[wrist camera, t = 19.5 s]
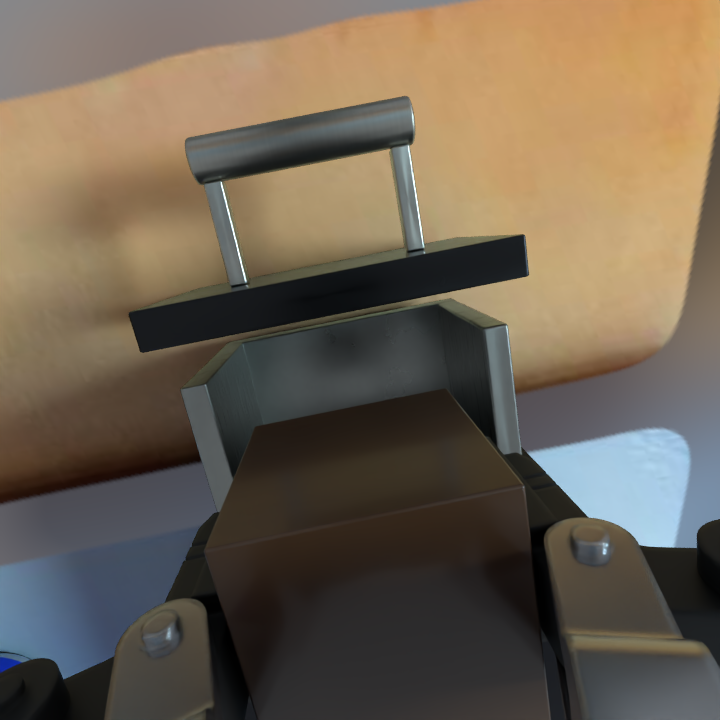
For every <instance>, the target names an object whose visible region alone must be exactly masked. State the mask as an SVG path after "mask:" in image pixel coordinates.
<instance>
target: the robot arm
mask: <svg viewBox="0 0 720 720" xmlns="http://www.w3.org/2000/svg"><path fill="white" fill-rule="evenodd" d="M486 438H487V440H488V441H489V442H490V443H491V444H492V446H493V447H494V448H495V449H496V451H497V452H498V453H499V454H500V456H501V457H502V458H503V459H504V461H505V462H506V463H507V464H508V466H509V467H510V468H511V469H512V471H513V472H514V473H515V474H516V476H517V477H518V478H519V479H520V480H521V482H522V483H523V484H524V486H525V493H526V502H527V510H528V519H529V528H530V537H531V546H532V555H533V564H534V573H535V582H536V591H537V600H538V609H539V618H540V627H541V636H542V642H546V641H549V643H550V645H551V647H552V649H553V650H554V652H555V655H556V665H557V675H558V681H559V687H560V693H561V699H562V705H563V711H564V717H565V720H720V519H719V520H714V521H711V522H708V523H706V524H705V525H703V526H702V527H701V528H700V529H699V530H698V533H697V548H666V547H647V546H641V545H639V544H638V542H637V541H636V539H635V538H634V537H633V536H632V535H631V534H630V533H629V532H628V531H626V530H625V529H623V528H622V527H620V526H618V525H616V524H614V523H611V522H608V521H605V520H601V519H596V518H588V517H587V516H586V514H585V513H584V512H583V511H582V510H581V509H580V508H579V507H578V506H577V505H576V504H575V503H574V502H573V501H572V500H571V499H570V498H569V496H568V495H567V494H566V493H565V492H564V491H563V490H562V489H561V488H560V487H559V486H558V485H557V486H556V483H555V482H554V481H553V480H552V479H551V477H550V476H549V475H546V472H545V471H544V470H543V469H542V468H541V467H540V466H539V465H538V464H537V463H536V462H535V461H534V460H532V459H530V458H528V457H526V456H523V455H521V454H519V453H517V452H515V453H510V454H505V455H504V454H503V453H502V452H501V451H500V449H499V448H498V447H497V446H496V445H495V443H494V442H493V441H492V440H491V438H490V437H486ZM219 513H220V512H217V513H214V514H213V515H212V516H211V517H210V518H209V519H208V520H207V521H206V522H205V523H204V524H203V525H202V526H201V527H200V528H199V529H198V531H197V534H196V536H195V538H194V540H193V542H192V547H190V549H189V551H188V553H187V555H186V557H185V558H186V561H184V562H183V564H182V566H181V568H180V570H179V573H178V575H177V577H176V579H175V581H174V583H173V586H172V588H171V590H170V592H169V594H168V597H167V599H166V601H165V603H163V604H161V605H159V606H157V607H155V608H153V609H151V610H149V611H148V612H146V613H145V614H143V615H142V616H141V617H139V618H138V619H137V620H136V621H135V622H134V623H133V624H132V625H131V626H129V628H128V629H127V630H126V631H125V632H124V634H123V635H122V637H121V638H120V640H119V642H118V644H117V647H116V650H115V656H114V657H112V658H110V659H108V660H106V661H104V662H102V663H99V664H97V665H95V666H93V667H91V668H88V669H86V670H84V671H82V672H79V673H77V674H75V675H73V676H71V677H68V678H66V679H64V680H63V677H62V675H61V673H60V670H59V668H58V666H57V664H56V663H55V662H54V661H52V660H50V659H45V658H39V659H33V660H29V661H25V662H22V663H20V664H17V665H15V666H13V667H11V668H9V669H7V670H5V671H3V672H1V673H0V720H245V715H246V710H247V704H248V703H250V702H251V699H250V696H249V693H248V689H247V686H246V683H245V680H244V677H243V674H242V671H241V667H240V664H239V661H238V658H237V655H236V652H235V649H234V645H233V642H232V639H231V636H230V633H229V630H228V626H227V623H226V620H225V617H224V614H223V611H222V608H221V604H220V601H219V598H218V595H217V592H216V589H215V586H214V582H213V579H212V576H211V573H210V570H209V567H208V563H207V560H206V557H205V554H204V549H205V546H206V544H207V542H208V539H209V537H210V534H211V532H212V530H213V527H214V525H215V522H216V520H217V517H218V515H219Z"/></svg>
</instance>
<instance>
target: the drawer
mask: <svg viewBox="0 0 720 720" xmlns="http://www.w3.org/2000/svg"><path fill="white" fill-rule="evenodd" d="M414 139H415V119H414V112H413V107H412V104H411V101H410V99H409V97H407V96H402V97H397V98H392V99H387V100H382V101H376V102H371V103H366V104H361V105H356V106H350V107H345V108H340V109H335V110H330V111H324V112H319V113H314V114H309V115H304V116H298V117H293V118H288V119H283V120H278V121H272V122H267V123H262V124H257V125H252V126H246V127H241V128H236V129H231V130H226V131H220V132H215V133H210V134H205V135H200V136H194V137H189V138H187V139H186V140H185V151H186V156H187V160H188V163H189V167H190V169H191V172H192V174H193V176H194V178H195V180H196V181H197V183H198V184H199V185H204V188H205V192H206V196H207V200H208V204H209V207H210V211H211V215H212V219H213V223H214V227H215V231H216V234H217V238H218V242H219V246H220V250H221V254H222V258H223V261H224V265H225V269H226V273H227V277H228V281H229V282H228V283H223V284H218V285H213V286H208V287H202V288H198V289H195V290H192V291H190V292H187V293H184V294H181V295H178V296H175V297H172V298H169V299H166V300H163V301H160V302H157V303H154V304H151V305H149V306H146V307H143V308H140V309H137V310H134V311H131V312H129V318H130V321H131V324H132V327H133V330H134V334H135V337H136V340H137V343H138V346H139V349H140V352H142V353H144V352H149V351H154V350H159V349H164V348H169V347H174V346H179V345H184V344H189V343H194V342H199V341H204V340H209V339H214V338H220V337H225V336H230V335H235V334H240V333H245V332H250V331H255V330H260V329H265V328H270V327H275V326H280V325H285V324H290V323H295V322H300V321H305V320H310V319H315V318H320V317H325V316H330V315H335V314H340V313H345V312H350V311H356V310H361V309H366V308H371V307H376V306H381V305H386V304H391V303H396V302H401V301H406V300H411V299H416V298H421V297H426V296H431V295H436V294H441V293H446V292H451V291H456V290H461V289H466V288H471V287H476V286H481V285H486V284H492V283H497V282H502V281H507V280H512V279H517V278H522V277H527V276H528V275H529V271H528V260H527V250H526V239H525V235H523V234H520V235H499V236H478V237H457V238H451V239H446V240H441V241H436V242H431V243H426V244H424V239H423V232H422V226H421V219H420V212H419V206H418V199H417V192H416V186H415V179H414V172H413V166H412V159H411V152H410V146H409V145H411V144H413V143H414ZM387 149H390V151H389V154H390V160H391V166H392V173H393V179H394V185H395V191H396V198H397V204H398V210H399V216H400V222H401V229H402V235H403V241H404V247H405V248H400V249H395V250H390V251H385V252H380V253H375V254H370V255H365V256H360V257H355V258H350V259H345V260H340V261H334V262H329V263H324V264H319V265H314V266H309V267H304V268H299V269H294V270H289V271H284V272H279V273H274V274H268V275H263V276H258V277H253V278H249V276H248V272H247V268H246V263H245V259H244V255H243V251H242V247H241V243H240V239H239V235H238V231H237V227H236V223H235V219H234V215H233V211H232V207H231V203H230V199H229V195H228V191H227V187H226V184H225V182H223V181H227V180H232V179H238V178H243V177H248V176H253V175H258V174H263V173H269V172H274V171H279V170H284V169H289V168H294V167H300V166H305V165H310V164H315V163H320V162H325V161H330V160H336V159H341V158H346V157H351V156H356V155H361V154H367V153H372V152H377V151H382V150H387ZM444 388H446V389H447V390H448V391H449V392H450V394H451V395H452V396H453V397H454V399H455V400H456V401H457V402H458V404H459V405H460V406H461V407H462V408H463V410H464V411H465V412H466V413H467V415H468V416H469V417H470V418H471V420H472V421H473V422H474V423H475V425H476V426H477V427H478V428H479V430H480V431H481V432H482V433H483V435H484V436H485V437H490V438H491V440H492V441H493V442H494V443H495V445H496V446H497V447H498V448H499V449H500V451H501V452H502V453H503V454H504V455H505V454H510V453H515V452H517V453H519V454H521V455H522V450H521V441H520V432H519V423H518V414H517V405H516V396H515V387H514V378H513V368H512V359H511V350H510V341H509V332H508V325H507V324H506V323H503V322H501V321H499V320H497V319H495V318H492V317H490V316H488V315H486V314H484V313H481V312H479V311H477V310H475V309H473V308H470V307H468V306H466V305H464V304H462V303H460V302H457V301H455V300H454V299H451V298H449V299H444V300H439V301H434V302H429V303H424V304H419V305H414V306H409V307H404V308H399V309H394V310H389V311H384V312H379V313H374V314H369V315H364V316H359V317H353V318H348V319H343V320H338V321H333V322H328V323H323V324H318V325H313V326H308V327H303V328H298V329H293V330H288V331H283V332H278V333H273V334H268V335H263V336H258V337H253V338H248V339H243V340H238V341H233V342H229V343H227V344H226V345H225V346H224V347H223V348H222V349H221V350H220V351H219V352H218V353H217V354H216V355H215V356H214V357H213V358H212V359H211V360H210V361H209V362H208V363H207V364H206V365H205V366H204V367H203V368H202V369H201V370H200V371H199V372H198V373H197V374H196V375H195V376H194V377H192V378H191V379H190V380H189V381H188V382H187V383H186V384H185V385H184V386H183V387H182V388H181V389H180V391H181V394H182V398H183V401H184V404H185V408H186V411H187V414H188V417H189V421H190V424H191V427H192V431H193V434H194V437H195V441H196V444H197V447H198V450H199V454H200V457H201V460H202V464H203V467H204V470H205V473H206V477H207V480H208V483H209V487H210V490H211V493H212V497H213V500H214V503H215V506H216V509H217V512H220V510H221V508H222V505H223V503H224V501H225V498H226V496H227V493H228V491H229V488H230V486H231V484H232V481H233V479H234V476H235V474H236V471H237V469H238V467H239V464H240V462H241V459H242V457H243V455H244V452H245V450H246V447H247V445H248V442H249V440H250V438H251V435H252V433H253V430H254V428H255V427H256V426H260V425H265V424H270V423H275V422H280V421H285V420H290V419H295V418H299V417H304V416H309V415H314V414H319V413H324V412H329V411H334V410H339V409H344V408H349V407H354V406H359V405H364V404H369V403H374V402H379V401H384V400H389V399H394V398H399V397H404V396H409V395H414V394H419V393H424V392H429V391H434V390H439V389H444Z"/></svg>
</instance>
